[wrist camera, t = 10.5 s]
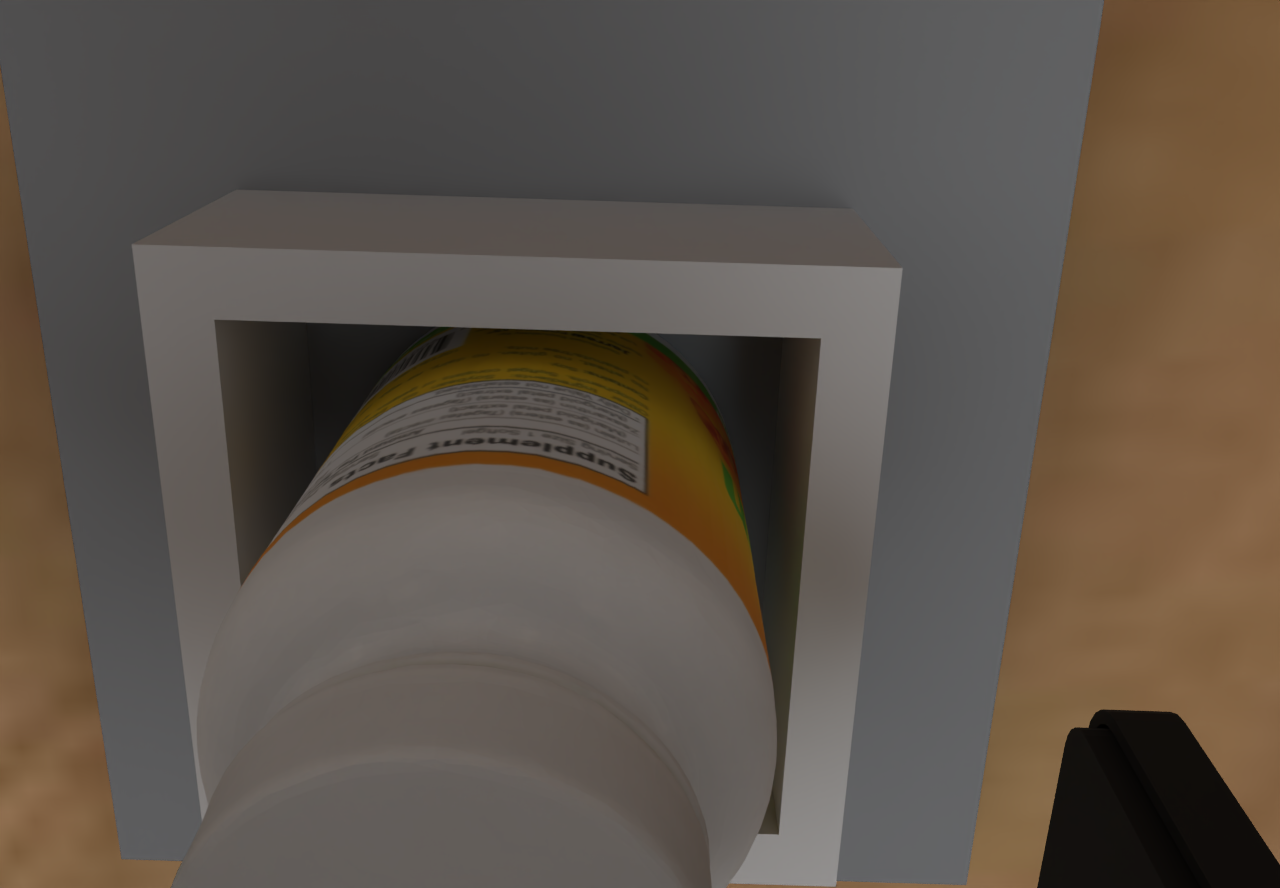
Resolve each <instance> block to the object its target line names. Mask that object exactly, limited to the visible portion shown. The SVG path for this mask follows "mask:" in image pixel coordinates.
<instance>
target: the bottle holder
mask: <svg viewBox="0 0 1280 888" xmlns="http://www.w3.org/2000/svg"><path fill="white" fill-rule="evenodd" d="M1103 4H1104V0H0V66H1V73H2V79H3V86H4V92H5V99H6V105H7V112H8V118H9V125H10V132H11V138H12V145H13V151H14V158H15V164H16V171H17V177H18V184H19V190H20V197H21V204H22V210H23V217H24V223H25V230H26V236H27V243H28V249H29V256H30V262H31V269H32V276H33V282H34V289H35V295H36V302H37V308H38V315H39V321H40V328H41V334H42V341H43V348H44V354H45V361H46V367H47V374H48V380H49V387H50V393H51V400H52V407H53V413H54V420H55V426H56V433H57V439H58V446H59V452H60V459H61V465H62V472H63V479H64V485H65V492H66V498H67V505H68V511H69V518H70V524H71V531H72V537H73V544H74V551H75V557H76V564H77V570H78V577H79V583H80V590H81V596H82V603H83V610H84V616H85V623H86V629H87V636H88V642H89V649H90V655H91V662H92V668H93V675H94V682H95V688H96V695H97V701H98V708H99V714H100V721H101V727H102V734H103V740H104V747H105V754H106V760H107V767H108V773H109V780H110V786H111V793H112V799H113V806H114V812H115V819H116V826H117V832H118V839H119V845H120V852H121V858H122V859H136V860H168V861H183V859H184V858H185V856H186V854H187V852H188V850H189V848H190V846H191V844H192V842H193V840H194V838H195V836H196V834H197V832H198V830H199V828H200V825H201V823H202V821H203V819H204V816H205V813H206V811H207V808H208V802H207V798H206V793H205V789H204V785H203V782H202V779H201V773H200V766H199V759H198V751H197V713H198V704H199V697H200V689H201V684H202V680H203V676H204V673H205V669H206V665H207V661H208V658H209V655H210V652H211V649H212V646H213V643H214V640H215V638H216V636H217V633H218V631H219V629H220V626H221V624H222V622H223V620H224V618H225V616H226V614H227V612H228V610H229V609H230V607H231V605H232V603H233V601H234V599H235V597H236V595H237V593H238V591H239V590H240V588H241V586H242V585H243V583H244V581H245V580H246V578H247V576H248V575H249V573H250V571H251V570H252V568H253V567H254V565H255V564H256V562H257V561H258V560H259V558H260V557H261V555H262V554H263V553H264V551H265V550H266V549H267V547H268V546H269V544H270V543H271V541H272V540H273V538H274V537H275V535H276V534H277V532H278V531H279V530H280V528H281V527H282V525H283V524H284V522H285V521H286V519H287V518H288V516H289V515H290V513H291V512H292V510H293V509H294V507H295V506H296V504H297V503H298V501H299V500H300V498H301V497H302V495H303V494H304V492H305V491H306V489H307V488H308V486H309V485H310V483H311V482H312V480H313V478H314V477H315V475H316V474H317V472H318V471H319V469H320V468H321V466H322V465H323V463H324V462H325V460H326V459H327V457H328V456H329V454H330V453H331V451H332V450H333V448H334V446H335V445H336V443H337V442H338V440H339V439H340V437H341V436H342V434H343V433H344V431H345V430H346V428H347V427H348V425H349V424H350V422H351V421H352V419H353V418H354V416H355V415H356V413H357V412H358V410H359V409H360V407H361V406H362V404H363V403H364V401H365V400H366V398H367V397H368V396H369V394H370V393H371V391H372V390H373V388H374V387H375V385H376V384H377V382H378V381H379V380H380V378H381V377H382V376H383V375H384V374H385V372H386V371H387V370H388V369H389V368H390V367H391V366H392V364H393V363H394V362H395V361H396V360H397V359H398V358H399V357H400V356H401V354H402V353H403V352H404V351H406V350H407V349H408V348H409V347H410V346H411V345H412V344H413V343H414V342H415V341H417V340H418V339H419V338H420V337H422V336H423V335H424V334H426V333H427V332H429V331H430V330H431V329H433V328H435V327H468V328H501V329H533V330H565V331H598V332H630V333H656V334H657V335H658V336H660V337H661V338H662V339H664V340H665V341H666V342H668V343H669V344H670V345H671V346H672V347H673V348H675V349H676V350H677V351H678V352H679V353H680V354H681V355H682V356H683V357H684V358H685V359H686V360H687V361H688V362H689V363H690V364H691V366H692V367H693V368H694V369H695V370H696V372H697V373H698V374H699V376H700V377H701V378H702V380H703V381H704V382H705V384H706V386H707V387H708V389H709V391H710V392H711V394H712V396H713V397H714V399H715V401H716V403H717V405H718V407H719V410H720V412H721V414H722V417H723V419H724V422H725V425H726V428H727V431H728V434H729V437H730V441H731V445H732V448H733V451H734V456H735V461H736V468H737V473H738V478H739V484H740V490H741V496H742V502H743V508H744V513H745V518H746V524H747V529H748V534H749V540H750V546H751V552H752V559H753V566H754V573H755V580H756V586H757V592H758V598H759V604H760V609H761V615H762V621H763V627H764V633H765V639H766V645H767V651H768V657H769V663H770V670H771V676H772V682H773V689H774V700H775V710H776V720H777V757H776V767H775V773H774V779H773V785H772V790H771V796H770V800H769V803H768V807H767V810H766V813H765V816H764V819H763V822H762V825H761V828H760V830H759V832H758V834H757V836H756V838H755V840H754V842H753V844H752V846H751V848H750V850H749V853H748V855H747V857H746V859H745V861H744V862H743V864H742V866H741V867H740V869H739V870H738V872H737V873H736V875H735V876H734V877H733V879H732V880H731V881H730V883H734V884H767V885H800V886H832V887H836V881H854V882H887V883H920V884H952V885H966V883H967V877H968V870H969V864H970V857H971V851H972V845H973V838H974V832H975V825H976V819H977V812H978V806H979V800H980V793H981V787H982V780H983V774H984V768H985V761H986V755H987V748H988V742H989V736H990V729H991V723H992V716H993V710H994V703H995V697H996V691H997V684H998V678H999V671H1000V665H1001V659H1002V652H1003V646H1004V639H1005V633H1006V627H1007V620H1008V614H1009V607H1010V601H1011V594H1012V588H1013V582H1014V575H1015V569H1016V562H1017V556H1018V550H1019V543H1020V537H1021V530H1022V524H1023V517H1024V511H1025V505H1026V498H1027V492H1028V485H1029V479H1030V473H1031V466H1032V460H1033V453H1034V447H1035V441H1036V434H1037V428H1038V421H1039V415H1040V408H1041V402H1042V396H1043V389H1044V383H1045V376H1046V370H1047V364H1048V357H1049V351H1050V344H1051V338H1052V332H1053V325H1054V319H1055V312H1056V306H1057V299H1058V293H1059V287H1060V280H1061V274H1062V267H1063V261H1064V255H1065V248H1066V242H1067V235H1068V229H1069V223H1070V216H1071V210H1072V203H1073V197H1074V190H1075V184H1076V178H1077V171H1078V165H1079V158H1080V152H1081V146H1082V139H1083V133H1084V126H1085V120H1086V113H1087V107H1088V101H1089V94H1090V88H1091V81H1092V75H1093V69H1094V62H1095V56H1096V49H1097V43H1098V37H1099V30H1100V24H1101V17H1102V11H1103Z"/></svg>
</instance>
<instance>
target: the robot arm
mask: <svg viewBox="0 0 1280 888" xmlns="http://www.w3.org/2000/svg"><path fill="white" fill-rule="evenodd" d="M1037 888H1280V864H1279V863H1278V861H1277V860H1276V858H1275V857H1274V855H1273V854H1272V852H1271V851H1270V849H1269V848H1268V846H1267V845H1266V843H1265V842H1264V840H1263V839H1262V837H1261V836H1260V834H1259V833H1258V831H1257V830H1256V828H1255V827H1254V825H1253V824H1252V822H1251V821H1250V819H1249V818H1248V816H1247V815H1246V813H1245V812H1244V810H1243V809H1242V807H1241V806H1240V804H1239V803H1238V801H1237V800H1236V798H1235V797H1234V795H1233V794H1232V792H1231V791H1230V789H1229V788H1228V786H1227V785H1226V783H1225V782H1224V780H1223V779H1222V777H1221V776H1220V774H1219V773H1218V771H1217V770H1216V768H1215V767H1214V765H1213V764H1212V762H1211V761H1210V759H1209V758H1208V756H1207V755H1206V753H1205V752H1204V750H1203V749H1202V747H1201V746H1200V744H1199V743H1198V741H1197V740H1196V738H1195V737H1194V735H1193V734H1192V732H1191V731H1190V729H1189V728H1188V726H1187V725H1186V723H1185V722H1184V721H1183V720H1182V719H1181V718H1180V717H1179V716H1178V714H1175V713H1172V712H1157V711H1129V710H1100V711H1098V712H1096V713H1095V715H1094V716H1093V718H1092V719H1091V721H1090V725H1089V728H1076V727H1075V728H1074V729H1072V730H1071V731H1070V733H1069V734H1068V736H1067V740H1066V743H1065V747H1064V753H1063V758H1062V763H1061V768H1060V773H1059V778H1058V784H1057V789H1056V794H1055V799H1054V804H1053V809H1052V815H1051V820H1050V825H1049V830H1048V835H1047V840H1046V846H1045V851H1044V856H1043V861H1042V866H1041V871H1040V877H1039V882H1038V887H1037Z"/></svg>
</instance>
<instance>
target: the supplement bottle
mask: <svg viewBox="0 0 1280 888" xmlns="http://www.w3.org/2000/svg"><path fill="white" fill-rule="evenodd" d="M197 751H198V759H199V766H200V773H201V779H202V782H203V785H204V789H205V793H206V798H207V802H208V808H207V811H206V813H205V816H204V819H203V821H202V823H201V825H200V828H199V830H198V832H197V834H196V836H195V838H194V840H193V842H192V844H191V846H190V848H189V850H188V852H187V854H186V856H185V858H184V859H183V861H182V863H181V865H180V867H179V869H178V871H177V874H176V876H175V879H174V881H173V884H172V886H171V888H726V887H727V885H728V884H729V883H730V881H731V880H732V879H733V877H734V876H735V875H736V873H737V872H738V870H739V869H740V867H741V866H742V864H743V862H744V861H745V859H746V857H747V855H748V853H749V850H750V848H751V846H752V844H753V842H754V840H755V838H756V836H757V834H758V832H759V830H760V828H761V825H762V822H763V819H764V816H765V813H766V810H767V807H768V803H769V800H770V796H771V790H772V785H773V779H774V773H775V767H776V757H777V720H776V710H775V700H774V689H773V682H772V676H771V670H770V663H769V657H768V651H767V645H766V639H765V633H764V627H763V621H762V615H761V609H760V604H759V598H758V592H757V586H756V580H755V573H754V566H753V559H752V552H751V546H750V540H749V534H748V529H747V524H746V518H745V513H744V508H743V502H742V496H741V490H740V484H739V478H738V473H737V468H736V461H735V456H734V451H733V448H732V445H731V441H730V437H729V434H728V431H727V428H726V425H725V422H724V419H723V417H722V414H721V412H720V410H719V407H718V405H717V403H716V401H715V399H714V397H713V396H712V394H711V392H710V391H709V389H708V387H707V386H706V384H705V382H704V381H703V380H702V378H701V377H700V376H699V374H698V373H697V372H696V370H695V369H694V368H693V367H692V366H691V364H690V363H689V362H688V361H687V360H686V359H685V358H684V357H683V356H682V355H681V354H680V353H679V352H678V351H677V350H676V349H675V348H673V347H672V346H671V345H670V344H669V343H668V342H666V341H665V340H664V339H662V338H661V337H660V336H658V335H657V334H656V333H630V332H598V331H565V330H533V329H501V328H468V327H435V328H433V329H431V330H430V331H429V332H427V333H426V334H424V335H423V336H422V337H420V338H419V339H418V340H417V341H415V342H414V343H413V344H412V345H411V346H410V347H409V348H408V349H407V350H406V351H404V352H403V353H402V354H401V356H400V357H399V358H398V359H397V360H396V361H395V362H394V363H393V364H392V366H391V367H390V368H389V369H388V370H387V371H386V372H385V374H384V375H383V376H382V377H381V378H380V380H379V381H378V382H377V384H376V385H375V387H374V388H373V390H372V391H371V393H370V394H369V396H368V397H367V398H366V400H365V401H364V403H363V404H362V406H361V407H360V409H359V410H358V412H357V413H356V415H355V416H354V418H353V419H352V421H351V422H350V424H349V425H348V427H347V428H346V430H345V431H344V433H343V434H342V436H341V437H340V439H339V440H338V442H337V443H336V445H335V446H334V448H333V450H332V451H331V453H330V454H329V456H328V457H327V459H326V460H325V462H324V463H323V465H322V466H321V468H320V469H319V471H318V472H317V474H316V475H315V477H314V478H313V480H312V482H311V483H310V485H309V486H308V488H307V489H306V491H305V492H304V494H303V495H302V497H301V498H300V500H299V501H298V503H297V504H296V506H295V507H294V509H293V510H292V512H291V513H290V515H289V516H288V518H287V519H286V521H285V522H284V524H283V525H282V527H281V528H280V530H279V531H278V532H277V534H276V535H275V537H274V538H273V540H272V541H271V543H270V544H269V546H268V547H267V549H266V550H265V551H264V553H263V554H262V555H261V557H260V558H259V560H258V561H257V562H256V564H255V565H254V567H253V568H252V570H251V571H250V573H249V575H248V576H247V578H246V580H245V581H244V583H243V585H242V586H241V588H240V590H239V591H238V593H237V595H236V597H235V599H234V601H233V603H232V605H231V607H230V609H229V610H228V612H227V614H226V616H225V618H224V620H223V622H222V624H221V626H220V629H219V631H218V633H217V636H216V638H215V640H214V643H213V646H212V649H211V652H210V655H209V658H208V661H207V665H206V669H205V673H204V676H203V680H202V684H201V689H200V697H199V704H198V713H197Z"/></svg>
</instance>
